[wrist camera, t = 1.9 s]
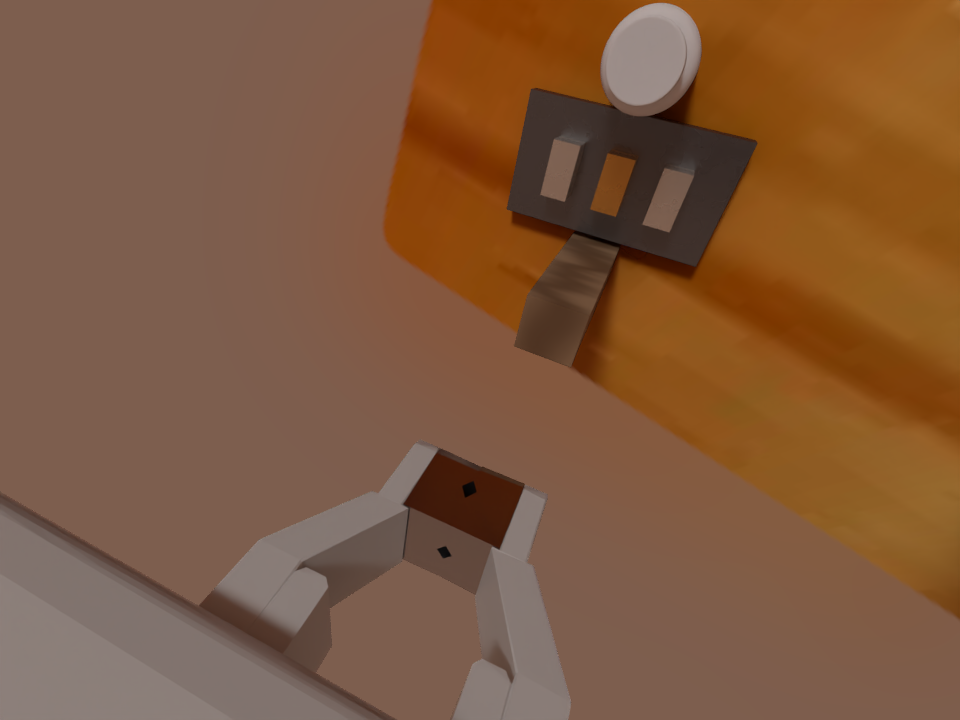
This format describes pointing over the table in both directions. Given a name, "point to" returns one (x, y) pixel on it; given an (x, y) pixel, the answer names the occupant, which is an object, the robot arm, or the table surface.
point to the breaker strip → (653, 155)
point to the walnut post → (566, 298)
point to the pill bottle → (650, 59)
